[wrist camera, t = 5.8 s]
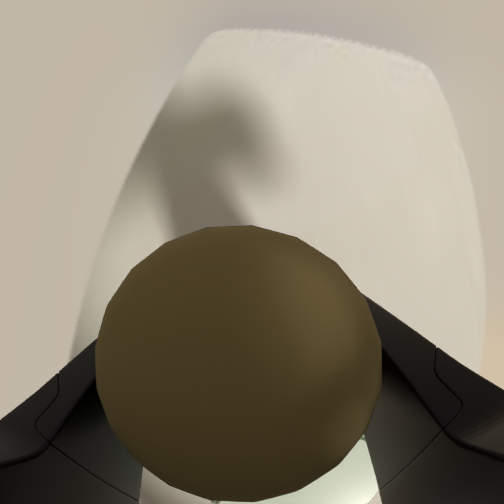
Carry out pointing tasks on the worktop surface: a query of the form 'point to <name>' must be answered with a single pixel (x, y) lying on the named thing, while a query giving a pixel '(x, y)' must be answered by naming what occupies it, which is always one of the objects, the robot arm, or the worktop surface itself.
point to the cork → (238, 363)
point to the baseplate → (335, 483)
